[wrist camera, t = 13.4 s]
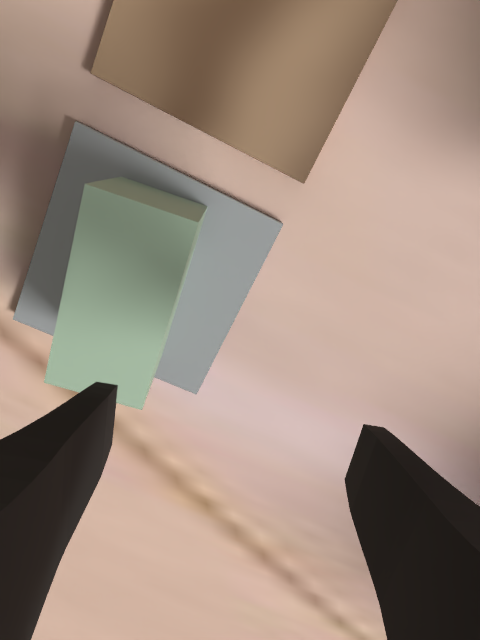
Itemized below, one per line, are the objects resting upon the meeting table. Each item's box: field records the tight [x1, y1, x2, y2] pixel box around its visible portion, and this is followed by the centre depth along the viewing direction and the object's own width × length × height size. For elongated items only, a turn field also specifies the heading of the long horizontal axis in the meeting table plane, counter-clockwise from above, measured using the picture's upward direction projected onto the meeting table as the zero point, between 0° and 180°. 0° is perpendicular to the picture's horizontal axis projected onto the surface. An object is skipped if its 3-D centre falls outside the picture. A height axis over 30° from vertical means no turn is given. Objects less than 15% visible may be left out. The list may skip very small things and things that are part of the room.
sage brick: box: [44, 177, 208, 410], centre depth 18 cm, size 4×8×5 cm, turn 161°
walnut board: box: [91, 0, 397, 183], centre depth 17 cm, size 10×10×1 cm
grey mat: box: [13, 121, 283, 394], centre depth 21 cm, size 10×10×1 cm
